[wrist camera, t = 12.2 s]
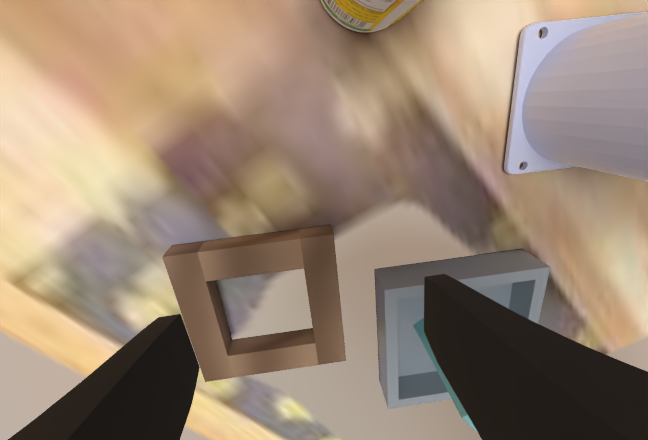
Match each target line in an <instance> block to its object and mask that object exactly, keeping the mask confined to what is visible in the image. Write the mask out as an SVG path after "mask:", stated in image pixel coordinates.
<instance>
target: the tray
mask: <svg viewBox="0 0 648 440" xmlns="http://www.w3.org/2000/svg"><path fill="white" fill-rule="evenodd" d="M549 270H550V267H549V266H548V265H546V264H545V263H543V262H542V261H540V260H539V259H537V258H535V257H534V256H532V255H531V254H529V253H528V252H526V251H525V250H523V249H518V250H511V251H503V252H496V253H489V254H481V255H474V256H467V257H459V258H453V259H445V260H438V261H430V262H423V263H416V264H409V265H401V266H394V267H387V268H379V269H375V289H376V312H377V313H376V314H377V336H378V359H379V381H380V384H381V387H382V390H383V393H384V397H385V400H386V403H387V406H388V409H392V408H398V407H405V406H411V405H417V404H423V403H429V402H436V401H442V400H449V399H452V398H451V396H450V394H449V392H448V391H447V389H446V387H445V385H444V383H443V381H442V379H441V377H440V375H439V373H438V372H437V370H436V368H435V366H434V364H433V362H432V360H431V358H430V356H429V355H428V353H427V351H426V349H425V347H424V345H423V343H422V341H421V339H420V337H419V336H418V334H417V332H416V330H415V328H414V326H413V325H414V324H415V323H417V322H418V321H420V320H421V319H423V318H424V277H426V276H433V275H440V274H446V275H448V276H450V277H452V278H454V279H456V280H458V281H459V282H461V283H463V284H465V285H467V286H468V287H470V288H472V289H474V290H476V291H477V292H479V293H481V294H483V295H484V296H486V297H488V298H490V299H492V300H493V301H495V302H497V303H499V304H501V305H503V306H504V307H506V308H508V309H510V310H512V311H514V312H516V313H518V314H519V315H521V316H523V317H525V318H527V319H529V320H531V321H533V322H535V323H537V324H538V323H539V318H540V313H541V308H542V303H543V299H544V294H545V289H546V284H547V279H548V275H549Z"/></svg>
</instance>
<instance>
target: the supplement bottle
mask: <svg viewBox="0 0 648 440" xmlns="http://www.w3.org/2000/svg"><path fill="white" fill-rule="evenodd" d="M423 1H424V0H321V2H322V4H323V6H324V8H325V9H326V11H327V12H328V13H329V14H330V15H331V17H332V18H333V19H334V20H336V21H337V22H338V23H339V24H341V25H342V26H344V27H346V28H348V29H350V30H353V31H357V32H376V31H379V30H382V29H385V28H387V27H389V26H390V25H392V24H394V23H395V22H397V21H398V20H399V19H401V18H402V17H403V16H405V15H406V14H407V13H408V12H410V11H411V10H412V9H414V8H415V7H416V6H417V5H419V4H420V3H421V2H423Z"/></svg>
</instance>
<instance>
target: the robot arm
mask: <svg viewBox="0 0 648 440" xmlns="http://www.w3.org/2000/svg"><path fill="white" fill-rule="evenodd" d="M540 29H541V30H542V36H541V38H539V36H538V33H539V30H540ZM522 162H523V166H522V167H521V168H519V166H520V164H521V163H522ZM572 167H583V168H587V169H592V170H596V171H600V172H605V173H609V174H613V175H617V176H622V177H626V178H630V179H635V180H639V181H643V182H648V12H638V13H628V14H618V15H608V16H598V17H589V18H579V19H569V20H559V21H549V22H539V23H533V24H530V25H527V26H526V27H525V28H524V29H523V30H522V32H521V35H520V41H519V49H518V57H517V65H516V73H515V81H514V89H513V97H512V106H511V114H510V122H509V130H508V138H507V146H506V154H505V162H504V170H505V172H506V173H508V174H511V175H516V174H524V173H532V172H540V171H548V170H556V169H564V168H572ZM424 333H425V335H426V337H427V340H428V342H429V344H430V347H431V349H432V351H433V354H434V356H435V358H436V360H437V363H438V364H439V366H440V368H441V370H442V372H443V373H444V375H445V377H446V378H447V380H448V382H449V384H450V385H451V387H452V389H453V391H454V392H455V394H456V396H457V397H458V399H459V401H460V403H461V404H462V406H463V408H464V409H465V411H466V413H467V414H468V416H469V418H470V420H471V421H472V423H473V425H474V426H475V428H476V430H477V432H478V433H479V435H480V437H481V438H482V440H648V372H647V371H644V370H641V369H639V368H636V367H634V366H631V365H629V364H626V363H624V362H622V361H619V360H617V359H614V358H612V357H610V356H607V355H605V354H603V353H600V352H598V351H595V350H593V349H591V348H588V347H586V346H584V345H581V344H579V343H577V342H575V341H573V340H570V339H568V338H566V337H564V336H562V335H560V334H558V333H556V332H554V331H551V330H549V329H547V328H545V327H543V326H541V325H539V324H537V323H535V322H533V321H531V320H529V319H527V318H525V317H523V316H521V315H519V314H518V313H516V312H514V311H512V310H510V309H508V308H506V307H504V306H503V305H501V304H499V303H497V302H495V301H493V300H492V299H490V298H488V297H486V296H484V295H483V294H481V293H479V292H477V291H476V290H474V289H472V288H470V287H468V286H467V285H465V284H463V283H461V282H459V281H458V280H456V279H454V278H452V277H450V276H448V275H446V274H440V275H433V276H426V277H424ZM198 372H199V364H198V362H197V359H196V356H195V353H194V351H193V348H192V345H191V342H190V340H189V337H188V334H187V331H186V329H185V326H184V323H183V320H182V318H181V315H180V314H178V315H172V316H165V317H159V318H157V319H156V320H155V321H153V322H152V323H151V324H150V325H148V326H147V327H146V328H145V329H143V330H142V331H141V332H140V333H139V334H137V335H136V336H135V337H134V338H133V339H131V340H130V341H129V342H128V343H127V344H126V345H124V346H123V347H122V348H121V349H120V350H119V351H117V352H116V353H115V354H114V355H113V356H112V357H110V358H109V359H108V360H107V361H106V362H104V363H103V364H102V365H101V366H100V367H99V368H97V369H96V370H95V371H94V372H93V373H92V374H90V375H89V376H88V377H87V378H86V379H84V380H83V381H82V382H81V383H79V384H78V385H77V386H76V387H75V388H73V389H72V390H71V391H70V392H68V393H67V394H66V395H65V396H64V397H62V398H61V399H60V400H58V401H57V402H56V403H55V404H53V405H52V406H51V407H50V408H48V409H47V410H46V411H45V412H43V413H42V414H41V415H40V416H38V417H37V418H36V419H35V420H33V421H32V422H31V423H29V424H28V425H27V426H26V427H24V428H23V429H22V430H20V431H19V432H18V433H16V434H15V435H14V436H12V437H11V438H10V439H8V440H180V437H181V434H182V431H183V428H184V425H185V422H186V419H187V416H188V413H189V410H190V407H191V404H192V400H193V396H194V391H195V387H196V382H197V377H198Z"/></svg>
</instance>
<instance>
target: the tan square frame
mask: <svg viewBox="0 0 648 440" xmlns="http://www.w3.org/2000/svg"><path fill="white" fill-rule="evenodd" d="M163 260H164V263H165V266H166V269H167V272H168V275H169V278H170V281H171V284H172V286H173V289H174V292H175V295H176V298H177V301H178V304H179V307H180V310H181V313H182V315H183V318H184V321H185V324H186V327H187V330H188V333H189V336H190V339H191V342H192V344H193V347H194V350H195V353H196V356H197V359H198V362H199V365H200V368H201V371H202V374H203V376H204V379H205V382H207V381H213V380H220V379H227V378H233V377H240V376H247V375H253V374H260V373H267V372H273V371H280V370H287V369H293V368H300V367H306V366H313V365H320V364H326V363H333V362H340V361H345V360H346V356H345V346H344V335H343V326H342V317H341V306H340V295H339V285H338V275H337V265H336V254H335V244H334V234H333V231H332V227H331V225H327V226H319V227H311V228H303V229H296V230H288V231H280V232H272V233H265V234H257V235H249V236H241V237H234V238H226V239H218V240H210V241H203V242H195V243H187V244H179V245H172V246H171V247H170V249H169V250H168V251H167V252H166V253H165V254H164V256H163ZM302 268H304V270H305V276H306V283H307V290H308V296H309V304H310V311H311V317H312V325H313V328H311V329H304V330H297V331H290V332H283V333H276V334H269V335H263V336H256V337H248V338H241V339H235V340H232V338H231V335H230V331H229V327H228V324H227V320H226V317H225V313H224V310H223V306H222V302H221V299H220V295H219V292H218V288H217V284H216V281H215V280H221V279H228V278H236V277H243V276H250V275H258V274H265V273H273V272H280V271H287V270H295V269H302Z"/></svg>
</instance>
